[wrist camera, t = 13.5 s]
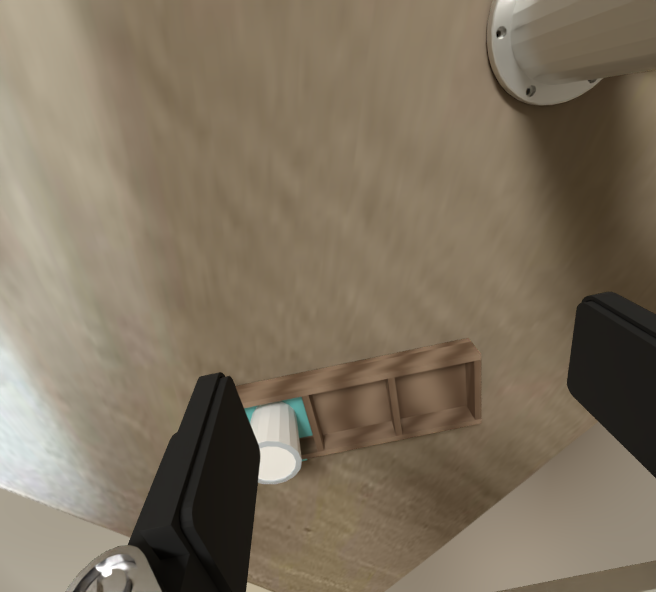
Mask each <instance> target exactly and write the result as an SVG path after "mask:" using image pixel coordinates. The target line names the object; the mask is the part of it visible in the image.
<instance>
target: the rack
mask: <svg viewBox="0 0 656 592" xmlns="http://www.w3.org/2000/svg"><path fill="white" fill-rule="evenodd" d="M235 387H236V389H237V392H238V394H239V397H240V399H241V402H242V404H243V407H244V409H245V412H246V414H247V417H248V419H249V422H250V421H251V418H252V414H253V412H254V411H255V409H256V407H258V406H259V405H263V404H268V403H273V402H278V401H281V402H284V403H286V404H288V405H290V406H291V407H292V408H293V409H294V411H295V413H296V417H297V425H298V434H299V442H300V450H301V458H302V461H306V460H307V459H308V458H313V457H318V456H323V455H328V454H333V453H338V452H343V451H348V450H352V449H357V448H362V447H367V446H372V445H377V444H382V443H387V442H392V441H397V440H402V439H407V438H411V437H416V436H421V435H426V434H431V433H436V432H441V431H446V430H451V429H456V428H461V427H466V426H470V425H475V424H480V423H481V353H480V352H479V351H478V349H477V348H476V347H475V346H474V344H473V343H472V342H471V341H470V339H469V338H466V339H461V340H456V341H451V342H446V343H442V344H437V345H432V346H427V347H422V348H417V349H413V350H408V351H403V352H398V353H393V354H388V355H384V356H379V357H374V358H369V359H364V360H359V361H355V362H350V363H345V364H340V365H335V366H330V367H326V368H321V369H316V370H311V371H306V372H301V373H297V374H292V375H287V376H282V377H277V378H273V379H268V380H263V381H258V382H253V383H248V384H244V385H239V386H235Z"/></svg>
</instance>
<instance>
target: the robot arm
mask: <svg viewBox="0 0 656 592" xmlns="http://www.w3.org/2000/svg"><path fill="white" fill-rule="evenodd" d="M496 32H498V34H499V35H498V38H497V36H496ZM487 48H488V56H489V60H490V64H491V67H492V70H493V73H494V74H495V76H496V78H497V80H498V82H499V84H500V85H501V86H502V87H503V88H504V89H505V90H506V92H507V93H508V94H510V95H511V96H513V97H514V98H516V99H517V100H519V101H522V102H524V103H527V104H532V105H540V106H542V105H555V104H559V103H564V102H567V101H570V100H572V99H574V98H577V97H579V96H581V95H582V94H584V93H585V92H587V91H588V90H590V89H592V88H593V87H594V86H595V85H596V84H597V83H599V82H600V81H601V80H602V79H603V78H606V77H612V76H619V75H625V74H632V73H639V72H645V71H652V70H656V0H493V2H492V4H491V8H490V14H489V19H488V24H487ZM526 90H527V94H526ZM567 386H568V389H569V391H570V393H571V394H572V396H573V397H574V398H575V399H576V400H577V401H578V402H579V403H580V404H581V405H582V406H583V407H584V408H585V409H586V410H587V411H588V412H589V413H590V414H591V415H592V416H593V417H595V418H596V419H597V420H598V421H599V422H600V423H601V424H602V425H603V426H604V427H605V428H606V429H607V430H608V431H609V432H610V433H611V434H612V435H613V436H614V437H615V438H616V439H617V440H618V441H619V442H620V443H621V444H622V445H623V446H624V447H625V448H626V449H627V450H628V451H629V452H630V453H631V454H632V455H633V456H634V457H635V458H636V459H637V460H638V461H639V462H640V463H641V464H642V465H643V466H644V467H645V468H646V469H647V470H648V471H649V472H650V473H651V474H652V475H653V476H654V477H655V478H656V314H654V313H652V312H650V311H648V310H646V309H644V308H643V307H641V306H639V305H637V304H635V303H633V302H631V301H629V300H627V299H626V298H624V297H622V296H620V295H618V294H616V293H614V292H605V293H600V294H595V295H590V296H587V297H585V298H584V299H583V300H582V303H580V304H579V305H578V306H577V310H576V318H575V325H574V333H573V340H572V348H571V355H570V363H569V370H568V378H567ZM259 467H260V448H259V445H258V442H257V440H256V437H255V435H254V432H253V430H252V427H251V425H250V422H249V419H248V417H247V414H246V412H245V409H244V407H243V404H242V402H241V399H240V397H239V394H238V392H237V389H236V387H235V384H234V382H233V379H232V378H231V377H230V376H227V377H225V375H224V374H223V373H221V372H219V373H215V374H210V375H205V376H201V377H199V379H198V381H197V383H196V386H195V388H194V391H193V394H192V396H191V399H190V401H189V404H188V406H187V409H186V412H185V414H184V417H183V419H182V422H181V425H180V427H179V430H178V432H177V433H175V434H174V435H173V436H172V438H171V439H170V441H169V444H168V446H167V449H166V451H165V453H164V456H163V458H162V461H161V463H160V466H159V468H158V471H157V473H156V476H155V478H154V481H153V483H152V486H151V488H150V491H149V493H148V496H147V498H146V501H145V503H144V506H143V508H142V511H141V513H140V516H139V518H138V521H137V523H136V526H135V528H134V530H133V533H132V535H131V538H130V540H129V543H128V545H125V546H118V547H115V548H113V549H110V550H108V551H106V552H104V553H103V554H101V555H100V556H98V557H97V558H95V559H94V560H92V561H91V562H90V563H89V564H88V565H87V566H86V567H85V568H84V569H83V570H82V571H80V572H79V574H78V575H77V576H76V578H75V579H74V580H73V581H72V583H71V584H70V585H69V586H68V588H67V590H66V592H246V585H247V577H248V568H249V558H250V549H251V540H252V531H253V522H254V513H255V504H256V495H257V486H258V476H259ZM497 592H656V561H651V562H645V563H641V564H635V565H630V566H625V567H620V568H615V569H609V570H604V571H600V572H594V573H589V574H585V575H579V576H574V577H569V578H564V579H559V580H553V581H548V582H543V583H538V584H533V585H528V586H523V587H518V588H513V589H508V590H503V591H497Z"/></svg>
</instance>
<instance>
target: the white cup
mask: <svg viewBox="0 0 656 592" xmlns="http://www.w3.org/2000/svg"><path fill="white" fill-rule="evenodd" d="M250 425H251V427H252V430H253V432H254V435H255V437H256V440H257V442H258V445H259V448H260V467H259V476H258V483H262V484H278V483H281V482H285V481H287V480H289V479H291V478H292V477H294V476H295V475H296V474H297V473H298V471H299V470H300V468H301V461H302V458H301V450H300V442H299V434H298V425H297V417H296V413H295V411H294V409H293V408H292V407H291V406H290V405H288V404H286V403H284V402H281V401H278V402H273V403H268V404H263V405H259V406H258V407H256V409H255V411H254V412H253V414H252V418H251V421H250Z"/></svg>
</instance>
